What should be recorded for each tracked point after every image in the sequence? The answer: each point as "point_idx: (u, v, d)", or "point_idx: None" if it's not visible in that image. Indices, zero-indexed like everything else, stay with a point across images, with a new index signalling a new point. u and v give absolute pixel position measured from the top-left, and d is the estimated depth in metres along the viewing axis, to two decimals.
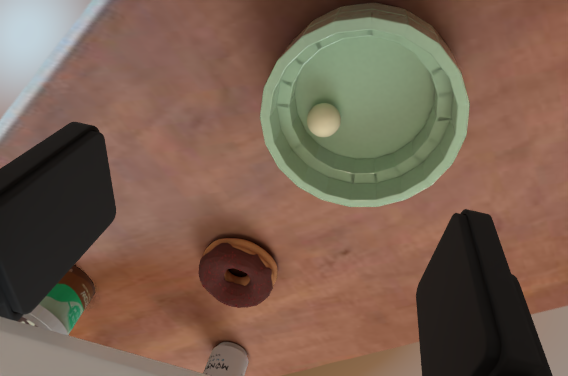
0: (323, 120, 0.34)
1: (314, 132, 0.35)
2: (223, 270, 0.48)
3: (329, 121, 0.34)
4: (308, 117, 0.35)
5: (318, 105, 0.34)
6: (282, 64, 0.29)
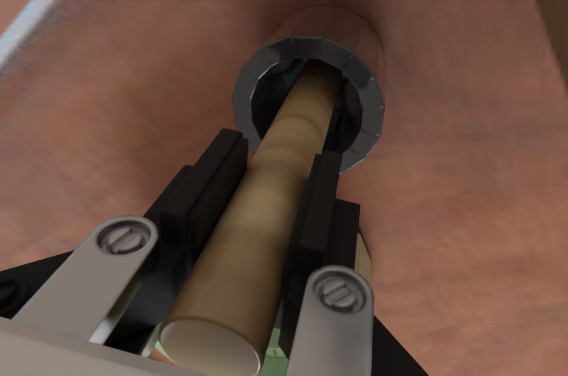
0: None
1: None
2: None
3: None
4: None
5: None
6: None
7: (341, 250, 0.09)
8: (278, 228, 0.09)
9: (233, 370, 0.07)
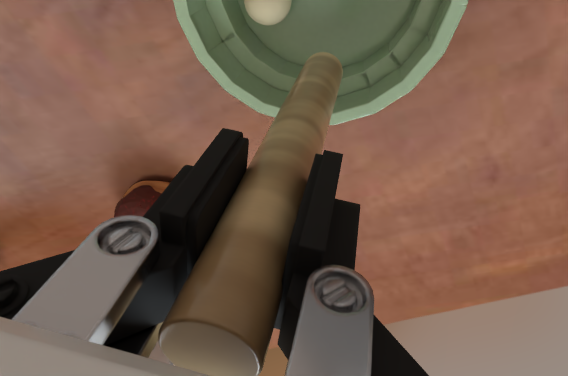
0: None
1: (253, 14, 0.24)
2: None
3: None
4: None
5: None
6: None
7: (341, 250, 0.09)
8: (277, 230, 0.09)
9: (232, 372, 0.07)
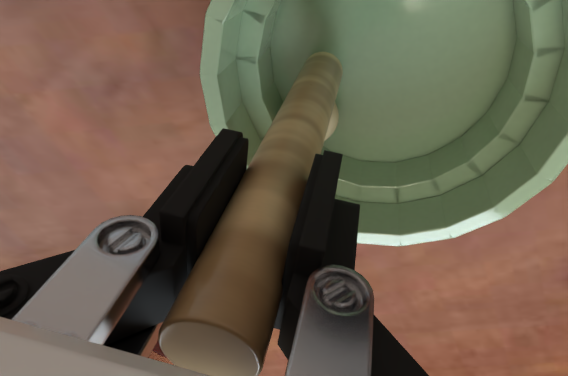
0: None
1: None
2: None
3: None
4: None
5: None
6: None
7: (341, 250, 0.09)
8: (277, 230, 0.09)
9: (232, 372, 0.07)
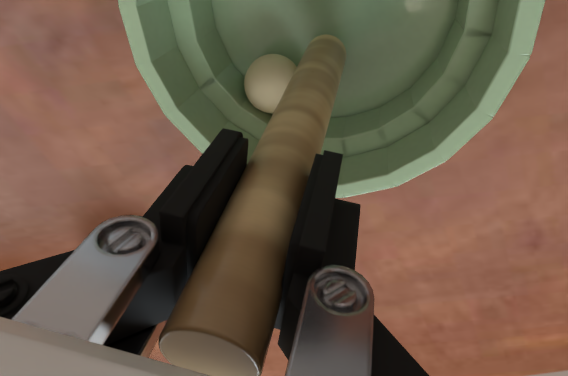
0: (258, 100, 0.20)
1: (245, 87, 0.21)
2: None
3: (264, 107, 0.20)
4: (252, 67, 0.20)
5: (275, 72, 0.19)
6: None
7: (341, 250, 0.09)
8: (274, 230, 0.09)
9: None
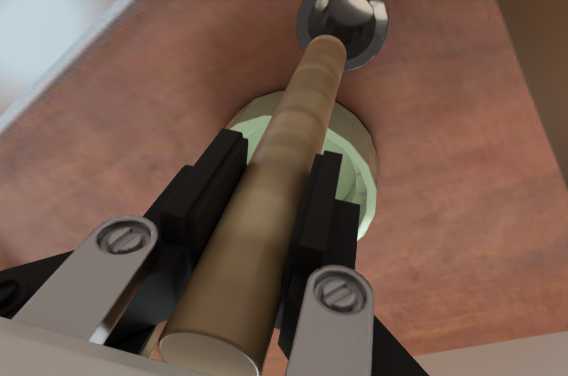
0: None
1: None
2: None
3: None
4: None
5: None
6: None
7: (341, 250, 0.09)
8: (274, 232, 0.09)
9: None
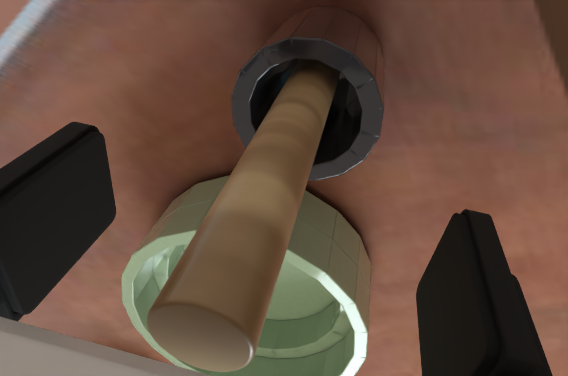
0: None
1: None
2: None
3: None
4: None
5: None
6: (139, 258, 0.23)
7: None
8: (270, 212, 0.08)
9: (225, 357, 0.07)
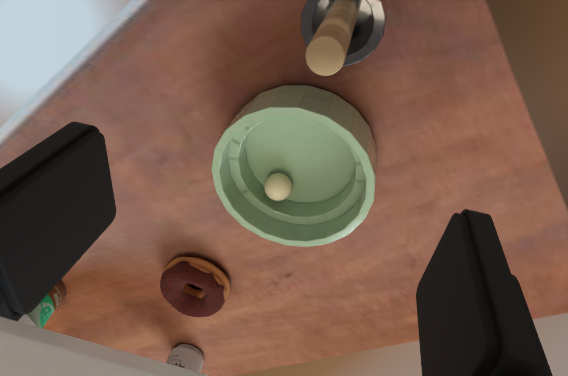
0: (273, 193, 0.41)
1: (264, 188, 0.42)
2: (181, 284, 0.54)
3: (276, 196, 0.42)
4: (270, 178, 0.42)
5: (282, 180, 0.41)
6: (229, 133, 0.36)
7: None
8: (343, 27, 0.21)
9: (333, 64, 0.20)
